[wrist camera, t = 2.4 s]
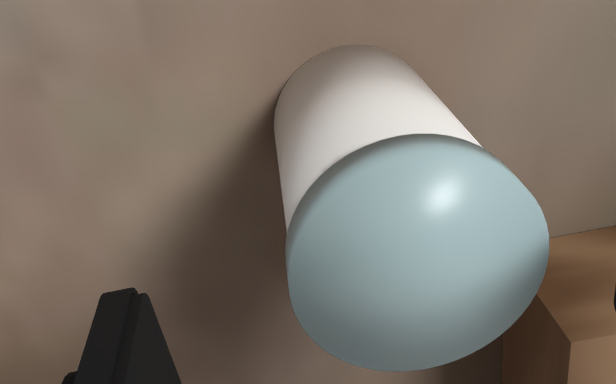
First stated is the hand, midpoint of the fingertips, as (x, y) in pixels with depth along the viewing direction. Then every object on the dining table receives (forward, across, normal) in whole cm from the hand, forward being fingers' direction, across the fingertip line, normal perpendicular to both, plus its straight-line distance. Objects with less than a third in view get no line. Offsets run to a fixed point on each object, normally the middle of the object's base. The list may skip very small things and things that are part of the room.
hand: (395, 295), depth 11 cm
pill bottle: (+8, -1, 0) cm, 8 cm away
